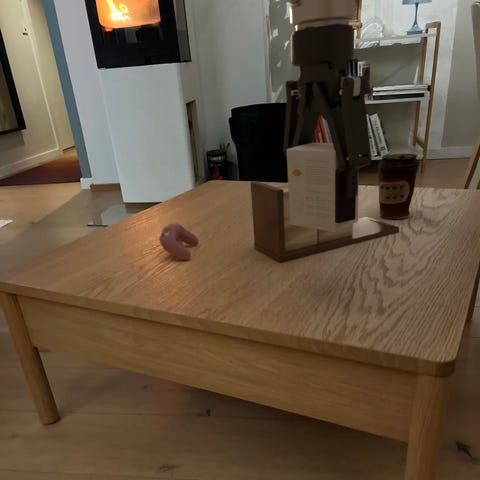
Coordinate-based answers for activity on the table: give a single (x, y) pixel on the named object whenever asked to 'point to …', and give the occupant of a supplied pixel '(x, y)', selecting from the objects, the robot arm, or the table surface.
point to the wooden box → (300, 227)
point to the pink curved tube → (177, 240)
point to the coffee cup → (397, 184)
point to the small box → (314, 187)
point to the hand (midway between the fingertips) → (323, 213)
